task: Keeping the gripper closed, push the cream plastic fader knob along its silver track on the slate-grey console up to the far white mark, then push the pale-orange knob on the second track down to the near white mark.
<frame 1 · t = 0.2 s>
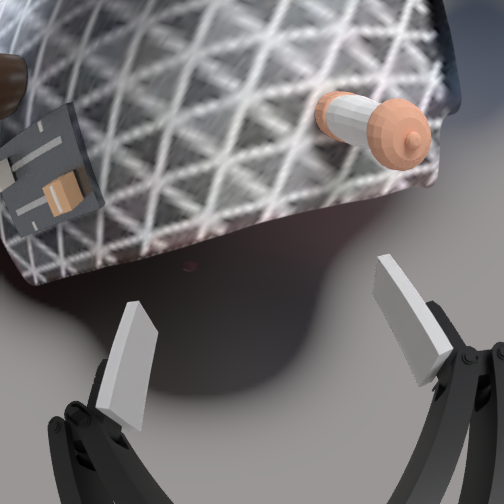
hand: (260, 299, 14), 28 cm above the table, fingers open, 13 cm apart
plant pot: (7, 85, 24), on the table
pepper shaker: (338, 114, 34), on the table
fader b: (62, 194, 32), point 5 cm above the table, slide at 7.0 cm
console: (41, 175, 34), on the table
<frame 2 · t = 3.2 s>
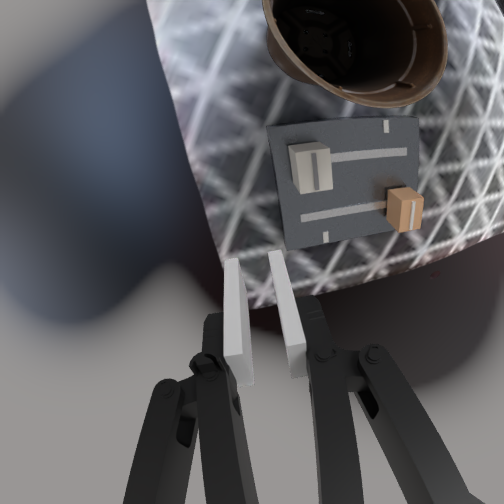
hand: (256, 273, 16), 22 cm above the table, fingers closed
plant pot: (312, 41, 26), on the table
fader b: (405, 209, 34), point 5 cm above the table, slide at 7.0 cm
console: (350, 178, 36), on the table
fader a: (310, 166, 30), point 5 cm above the table, slide at -7.0 cm
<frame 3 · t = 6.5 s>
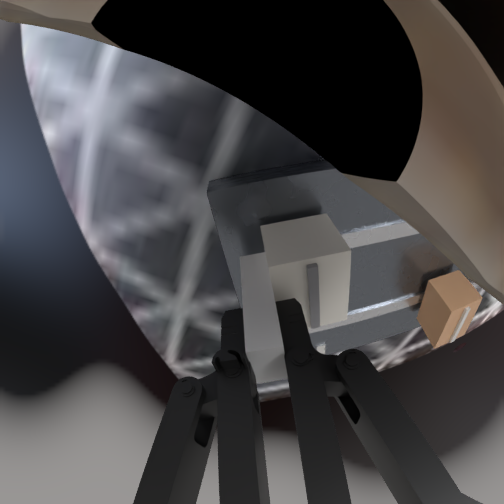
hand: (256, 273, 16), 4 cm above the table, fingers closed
plant pot: (304, 0, 10), on the table
fader b: (449, 310, 19), point 5 cm above the table, slide at 7.0 cm
console: (370, 261, 21), on the table
fader a: (305, 275, 15), point 5 cm above the table, slide at -6.4 cm, touching gripper
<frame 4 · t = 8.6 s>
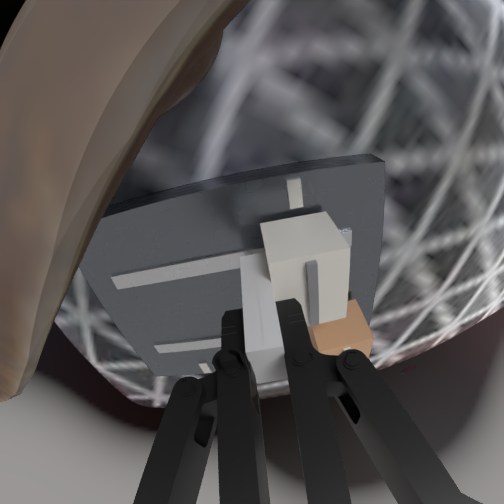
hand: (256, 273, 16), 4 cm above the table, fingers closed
plant pot: (124, 36, 11), on the table
fader b: (338, 344, 20), point 5 cm above the table, slide at 7.0 cm
console: (237, 286, 22), on the table
fader a: (305, 272, 15), point 5 cm above the table, slide at 4.7 cm, touching gripper
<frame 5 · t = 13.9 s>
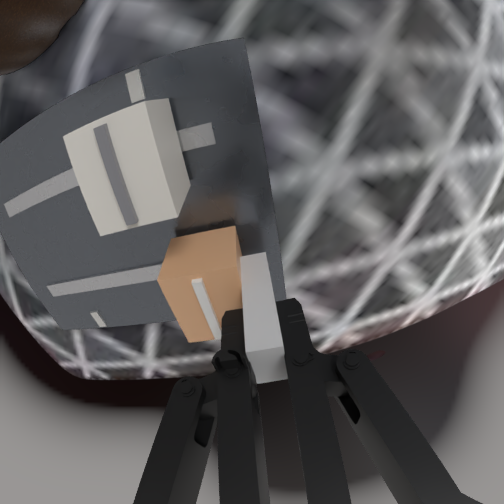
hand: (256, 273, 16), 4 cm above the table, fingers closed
plant pot: (33, 2, 7), on the table
fader b: (210, 287, 16), point 5 cm above the table, slide at 6.6 cm, touching gripper
console: (114, 215, 17), on the table
fader a: (131, 162, 11), point 5 cm above the table, slide at 4.7 cm
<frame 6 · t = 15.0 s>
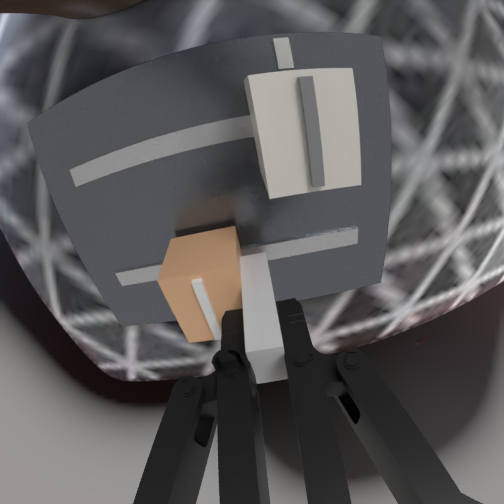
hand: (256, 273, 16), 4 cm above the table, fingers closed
fader b: (210, 287, 16), point 5 cm above the table, slide at -1.3 cm, touching gripper
console: (219, 189, 17), on the table
fader a: (300, 125, 11), point 5 cm above the table, slide at 4.7 cm
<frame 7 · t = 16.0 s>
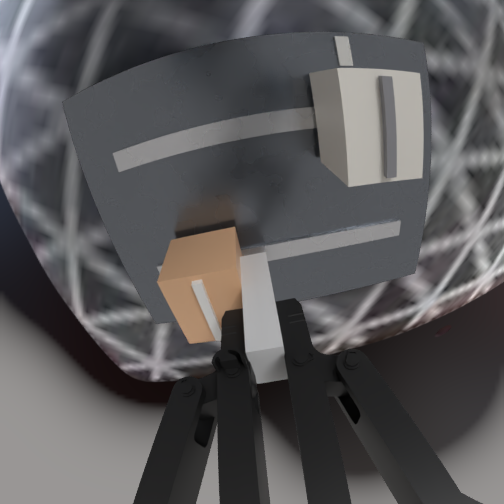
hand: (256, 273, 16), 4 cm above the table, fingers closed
fader b: (211, 288, 16), point 5 cm above the table, slide at -4.7 cm, touching gripper
console: (270, 180, 17), on the table
fader a: (368, 120, 11), point 5 cm above the table, slide at 4.7 cm
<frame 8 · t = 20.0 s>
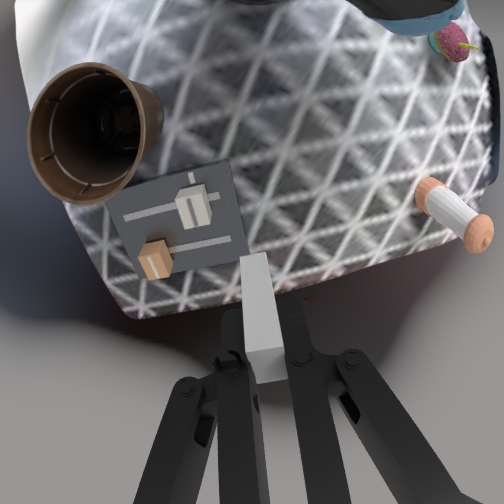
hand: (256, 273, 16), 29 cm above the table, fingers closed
plant pot: (128, 117, 35), on the table
pepper shaker: (427, 193, 46), on the table
fader b: (156, 260, 45), point 5 cm above the table, slide at -4.7 cm
console: (178, 222, 46), on the table
cupcake: (436, 41, 28), on the table
fader a: (194, 206, 40), point 5 cm above the table, slide at 4.7 cm
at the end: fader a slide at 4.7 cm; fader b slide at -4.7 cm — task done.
